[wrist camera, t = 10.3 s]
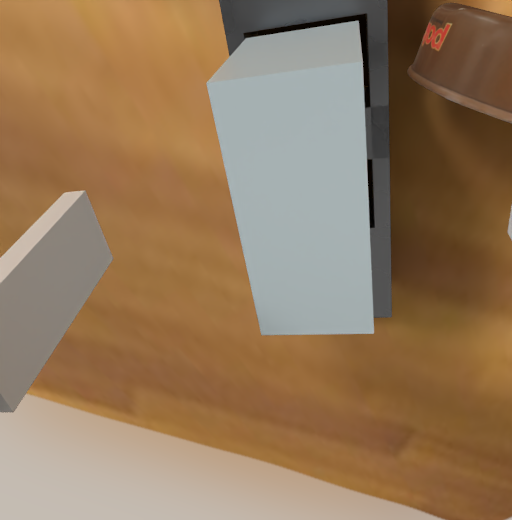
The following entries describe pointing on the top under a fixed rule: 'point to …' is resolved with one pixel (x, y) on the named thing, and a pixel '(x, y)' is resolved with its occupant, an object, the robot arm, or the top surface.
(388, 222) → the board
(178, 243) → the top surface
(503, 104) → the tin
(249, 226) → the pale blue upright block
